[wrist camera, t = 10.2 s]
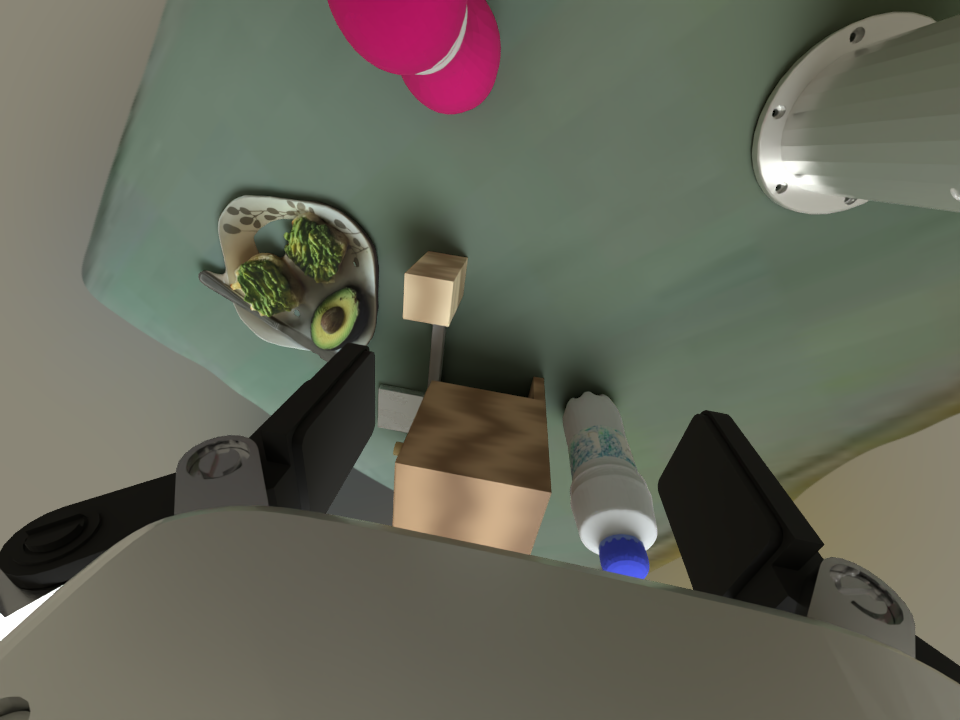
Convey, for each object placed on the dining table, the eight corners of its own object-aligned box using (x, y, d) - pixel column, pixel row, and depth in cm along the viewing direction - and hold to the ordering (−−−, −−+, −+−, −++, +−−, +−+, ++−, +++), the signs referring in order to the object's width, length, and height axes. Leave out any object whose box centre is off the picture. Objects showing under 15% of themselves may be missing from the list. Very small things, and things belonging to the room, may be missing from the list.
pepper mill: (435, 133, 32) (324, 107, 15) (399, 32, 29) (202, -154, 12) (516, 96, 30) (498, 15, 13) (485, -17, 27) (406, -326, 10)
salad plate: (224, 337, 45) (194, 354, 41) (191, 175, 36) (149, 178, 32) (379, 367, 45) (364, 388, 41) (383, 211, 36) (365, 218, 32)
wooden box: (543, 378, 42) (551, 492, 28) (520, 466, 49) (516, 594, 35) (428, 357, 43) (378, 459, 28) (421, 447, 50) (377, 566, 35)
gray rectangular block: (430, 391, 46) (427, 397, 44) (426, 428, 49) (423, 436, 47) (382, 381, 46) (378, 388, 45) (381, 419, 49) (377, 426, 48)
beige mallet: (467, 257, 37) (453, 281, 30) (445, 435, 48) (431, 482, 41) (428, 250, 37) (404, 273, 30) (415, 429, 48) (396, 476, 41)
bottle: (620, 428, 44) (678, 603, 27) (563, 434, 46) (583, 604, 28) (616, 381, 41) (679, 544, 24) (556, 388, 43) (574, 548, 25)
